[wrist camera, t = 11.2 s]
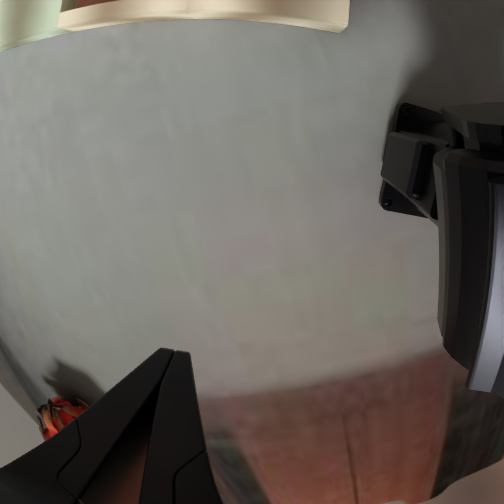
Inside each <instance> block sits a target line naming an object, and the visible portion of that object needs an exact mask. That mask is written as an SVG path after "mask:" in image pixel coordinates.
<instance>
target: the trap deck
mask: <svg viewBox="0 0 504 504" xmlns="http://www.w3.org/2000/svg"><path fill="white" fill-rule="evenodd" d="M349 5H350V0H0V52H2V51H5V50H8V49H11V48H14V47H17V46H20V45H24V44H27V43H30V42H34V41H38V40H41V39H45V38H49V37H53V36H57V35H61V34H66V33H70V32H75V31H80V30H85V29H91V28H97V27H103V26H109V25H117V24H124V23H133V22H143V21H156V20H174V19H230V20H247V21H260V22H271V23H280V24H288V25H295V26H302V27H308V28H314V29H320V30H325V31H330V32H335V33H341V32H342V31H343V30H344V29H345V28H346V27H347V26H348V17H349Z"/></svg>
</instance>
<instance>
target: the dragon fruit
mask: <svg viewBox="0 0 504 504" xmlns="http://www.w3.org/2000/svg"><path fill="white" fill-rule="evenodd" d="M76 399H77V400H78V402H79V404H80V405H79V407H75V406H72V405H71V403H70V402H69V401H67V400H64V399H63V397H62V395H60V396H57V397H55V398H52V400H50V398H49V400H48V404H47V405H45V404H44V405H41V406H40V408H38V409H37V410H36V411H37V413H39V414H41V415H42V417H43V419H44V421H45V423H46V426H47V427H48V428H45V429H43V424H42V421H41V419H40V418H39V417H38V416H37V417H38V420H39V422H40V424H41V426H40V427H39V430H40V432H41V434H42V436H43V439H44V440H45V441H46V440H48V439H49V438H51V437H52V436H54V435H55V434H56V433H57V432H59V431H60V430H61V429H63V428H64V427H65V426H66V425H68V424H69V423H70V422H71V421H73V420H74V419H76V420H77V417H78V416H79V415H80V414H81V413H82V412H84V411H85V410H86V409H87V408H89V407H90V406H89V405H88V404H87V403H85V402H84V401H82V400H81V399H79V398H77V397H76ZM40 403H41V402H40Z"/></svg>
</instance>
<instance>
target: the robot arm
mask: <svg viewBox="0 0 504 504" xmlns="http://www.w3.org/2000/svg"><path fill="white" fill-rule="evenodd" d="M404 107H405V108H407V110H408V113H407V115H404V114H403V111H402V110H403V108H404ZM441 110H442V114H440V113H437V112H434V111H431V110H428V109H425V108H422V107H419V106H416V105H412V104H409V103H400V104H399V105H398V106H397V108H396V113H395V120H394V126H393V131H392V132H391V133H389V134H388V138H387V144H386V149H385V154H384V160H383V165H382V170H381V176H382V178H383V184H382V189H381V193H380V198H379V204H380V206H381V207H382V208H383V209H384V210H387V211H393V212H398V213H404V214H409V215H414V216H419V217H424V218H429V219H430V220H431V221H432V222H433V223H435V224H436V225H437V226H438V229H439V299H438V317H437V319H438V323H439V328H440V332H441V335H442V337H443V346H444V348H445V349H446V350H447V352H448V353H449V354H450V356H451V357H452V358H453V359H455V360H456V361H457V362H458V363H460V364H461V365H462V366H464V367H465V368H466V369H468V370H469V372H468V376H467V380H466V387H467V388H468V389H473V390H479V391H485V392H491V393H493V394H496V395H498V396H501V397H503V398H504V102H497V103H483V104H471V105H461V106H452V107H443V108H441ZM388 198H390V203H389V204H385V200H386V199H388ZM0 504H223V502H222V499H221V497H220V494H219V491H218V489H217V486H216V483H215V480H214V476H213V473H212V469H211V465H210V460H209V456H208V452H207V447H206V442H205V437H204V431H203V426H202V421H201V415H200V410H199V404H198V398H197V393H196V387H195V380H194V374H193V368H192V361H191V355H190V353H189V352H185V351H179V350H177V351H174V350H173V349H168V348H159V349H158V350H157V351H156V352H154V353H153V354H152V355H151V356H150V357H148V358H147V359H146V360H145V361H144V362H143V363H141V364H140V365H139V366H138V367H137V368H135V369H134V370H133V371H132V372H131V373H129V374H128V375H127V376H126V377H125V378H123V379H122V380H121V381H120V382H119V383H117V384H116V385H115V386H114V387H113V388H111V389H110V390H109V391H108V392H107V393H105V394H104V395H103V396H102V397H101V398H99V399H98V400H97V401H96V402H95V403H93V404H92V405H91V406H90V407H89V408H87V409H86V410H85V411H84V412H82V413H81V414H80V415H79V416H78V417H77V420H76V419H74V420H73V421H71V422H70V423H69V424H68V425H66V426H65V427H64V428H63V429H61V430H60V431H59V432H57V433H56V434H55V435H54V436H52V437H51V438H49V439H48V440H46V441H45V442H43V443H42V444H40V445H39V446H37V447H36V448H34V449H32V450H31V451H29V452H27V453H26V454H24V455H22V456H21V457H19V458H17V459H16V460H14V461H12V462H11V463H9V464H7V465H6V466H4V467H2V468H0Z"/></svg>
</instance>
